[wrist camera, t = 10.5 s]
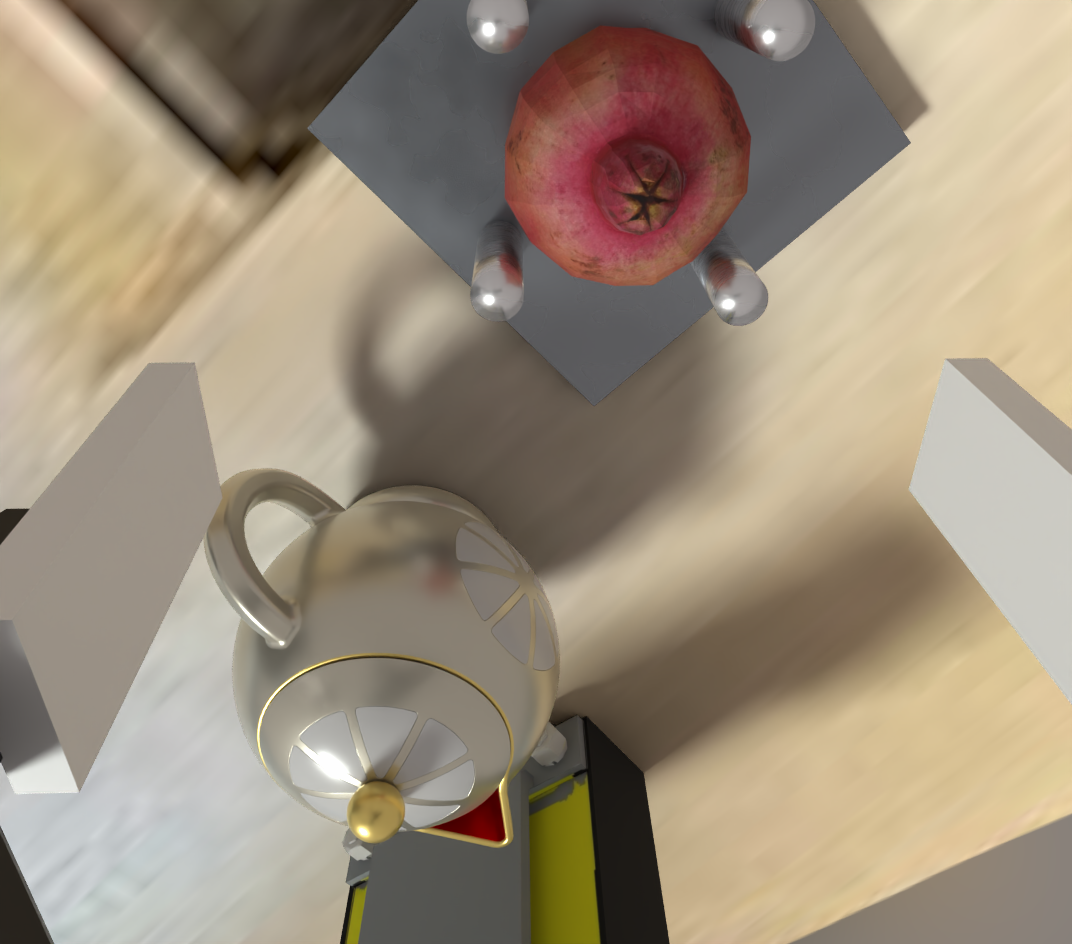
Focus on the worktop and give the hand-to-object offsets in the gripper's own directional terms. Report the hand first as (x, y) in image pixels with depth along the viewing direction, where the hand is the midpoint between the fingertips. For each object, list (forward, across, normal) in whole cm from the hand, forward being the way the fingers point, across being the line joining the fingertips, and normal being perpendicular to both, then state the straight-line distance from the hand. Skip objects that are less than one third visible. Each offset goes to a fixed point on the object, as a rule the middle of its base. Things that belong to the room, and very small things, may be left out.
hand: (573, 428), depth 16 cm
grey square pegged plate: (+22, +3, +1) cm, 22 cm away
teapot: (+22, -6, -18) cm, 29 cm away
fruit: (+21, +3, +1) cm, 21 cm away
